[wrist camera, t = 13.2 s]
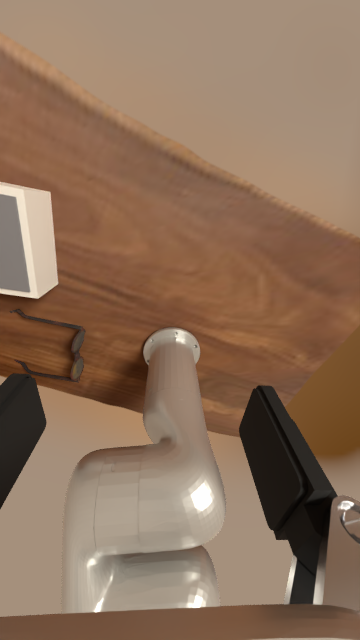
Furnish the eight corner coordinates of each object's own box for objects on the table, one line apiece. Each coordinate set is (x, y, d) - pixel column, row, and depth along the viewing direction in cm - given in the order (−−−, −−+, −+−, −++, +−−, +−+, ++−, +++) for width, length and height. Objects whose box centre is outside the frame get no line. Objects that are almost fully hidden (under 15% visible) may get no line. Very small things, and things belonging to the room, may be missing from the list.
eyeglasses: (83, 373, 51) (75, 389, 47) (16, 362, 49) (1, 378, 44) (87, 320, 45) (78, 333, 40) (9, 305, 42) (-10, 317, 38)
